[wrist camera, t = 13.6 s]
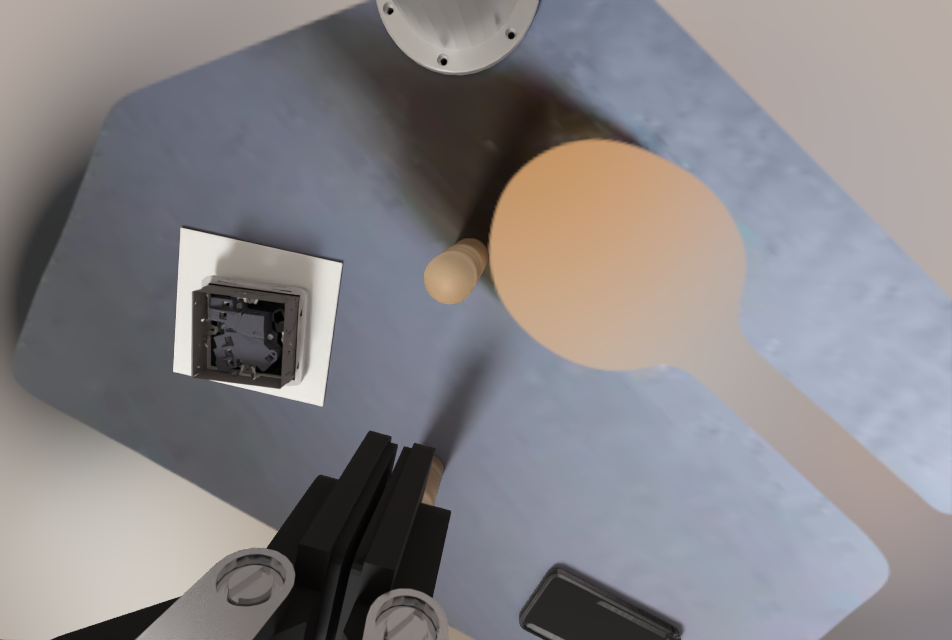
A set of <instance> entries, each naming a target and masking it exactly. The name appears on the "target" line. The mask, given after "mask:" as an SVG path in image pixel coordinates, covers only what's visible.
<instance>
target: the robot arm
mask: <svg viewBox="0 0 952 640" xmlns="http://www.w3.org/2000/svg"><path fill="white" fill-rule="evenodd" d="M376 2H377V6H378V9H379V13H380V16H381V19H382V21H383V23H384V25H385V27H386V29H387V31H388V33H389V34H390V36H391V37H392V39H393V40H394V41H395V43H396V44H397V45H398V47H399V48H400V49H401V50H402V51H403V52H404V53H405V54H406V55H407V56H408V57H410V58H411V59H412V60H413V61H415V62H416V63H417V64H419V65H421V66H423V67H425V68H427V69H429V70H431V71H434V72H438V73H442V74H446V75H466V74H472V73H477V72H480V71H482V70H485V69H488V68H490V67H492V66H494V65H495V64H497V63H498V62H500V61H502V60H503V59H505V58H506V57H507V56H508V55H509V54H510V53H511V52H512V51H513V50H514V49H515V48H516V47H517V46H518V44H519V43H520V42H521V40H522V39H523V38H524V36H525V35H526V34H527V32H528V30H529V28H530V25H531V23H532V21H533V19H534V17H535V14H536V10H537V7H538V4H539V0H376ZM390 10H394V12H393V13H392V14H391V15H389V11H390ZM511 33H512V34H514V35H515V37H514V38H513V39H509V38H508V35H509V34H511ZM443 60H447V64H446V65H445V66H443V65H442V64H441V63H442V61H443ZM397 448H398V444H394V443H391V436H388V435H384V434H380V433H377V432H373V431H369V432H368V433H367V435H366V437H365V438H364V440H363V441H362V443H361V445H360V446H359V448H358V449H357V451H356V453H355V454H354V456H353V457H352V459H351V461H350V462H349V464H348V465H347V467H346V469H345V470H344V472H343V473H342V475H341V477H340V478H339V480H338V479H334V478H331V477H327V476H324V475H319V476H318V477H317V478H316V479H315V480H314V482H313V483H312V484H311V486H310V487H309V489H308V490H307V491H306V493H305V494H304V496H303V497H302V499H301V500H300V501H299V503H298V504H297V506H296V507H295V508H294V510H293V511H292V513H291V514H290V516H289V517H288V518H287V520H286V521H285V523H284V524H283V525H282V527H281V528H280V530H279V531H278V533H277V534H276V535H275V537H274V538H273V540H272V541H271V543H270V544H269V545H268V547H267V548H250V549H244V550H240V551H237V552H235V553H232V554H230V555H228V556H226V557H225V558H224V559H222V560H221V561H219V562H218V563H216V564H215V565H214V566H213V567H212V568H211V569H210V570H209V571H208V572H207V573H206V574H205V575H204V576H203V577H202V578H201V579H200V580H198V581H197V582H196V583H195V584H194V585H193V586H192V587H191V588H190V589H189V590H188V591H187V592H186V593H185V594H184V595H182V596H180V597H178V598H174V599H171V600H168V601H165V602H162V603H159V604H156V605H153V606H150V607H147V608H144V609H141V610H138V611H135V612H132V613H128V614H125V615H122V616H119V617H116V618H113V619H110V620H107V621H104V622H101V623H98V624H95V625H92V626H89V627H86V628H83V629H80V630H77V631H73V632H70V633H67V634H65V635H62V636H58V637H56V638H54V639H52V640H448V623H447V617H446V615H445V613H444V612H443V610H442V608H441V606H440V605H439V604H438V603H437V602H436V601H435V600H434V599H433V593H434V589H435V584H436V580H437V575H438V570H439V566H440V561H441V557H442V552H443V547H444V543H445V538H446V533H447V529H448V524H449V520H450V515H451V511H450V510H446V509H443V508H439V507H436V506H432V505H428V504H425V503H422V500H423V496H424V492H425V488H426V484H427V480H428V477H429V473H430V469H431V465H432V461H433V457H434V453H435V448H432V447H428V446H424V445H421V444H417V443H414V445H413V447H412V448H409V447H405V446H404V448H403V450H402V452H401V454H400V456H399V459H398V461H397V463H396V465H395V468H394V470H393V472H392V469H393V465H394V461H395V457H396V452H397ZM0 640H2V639H0Z"/></svg>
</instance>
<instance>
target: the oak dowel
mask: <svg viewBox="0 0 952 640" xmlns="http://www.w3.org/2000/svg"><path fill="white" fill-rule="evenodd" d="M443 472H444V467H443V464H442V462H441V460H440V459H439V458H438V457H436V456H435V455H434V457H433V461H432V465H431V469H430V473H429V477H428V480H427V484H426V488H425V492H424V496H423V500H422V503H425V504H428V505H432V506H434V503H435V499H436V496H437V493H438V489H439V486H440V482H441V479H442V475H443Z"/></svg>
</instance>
